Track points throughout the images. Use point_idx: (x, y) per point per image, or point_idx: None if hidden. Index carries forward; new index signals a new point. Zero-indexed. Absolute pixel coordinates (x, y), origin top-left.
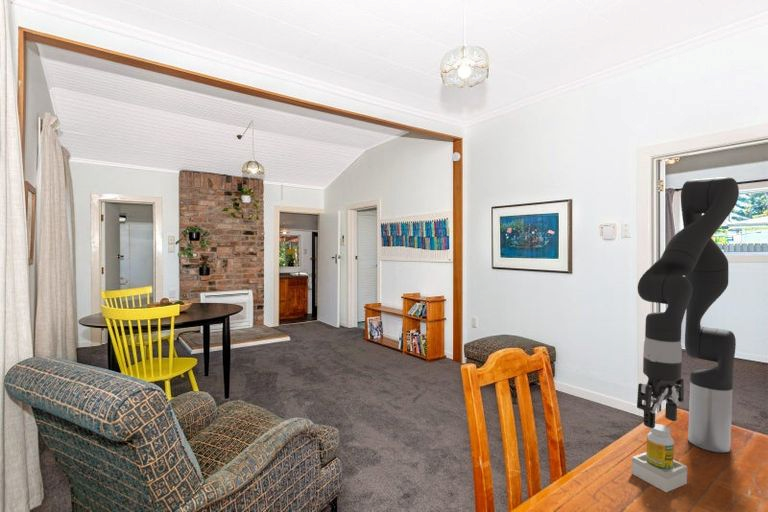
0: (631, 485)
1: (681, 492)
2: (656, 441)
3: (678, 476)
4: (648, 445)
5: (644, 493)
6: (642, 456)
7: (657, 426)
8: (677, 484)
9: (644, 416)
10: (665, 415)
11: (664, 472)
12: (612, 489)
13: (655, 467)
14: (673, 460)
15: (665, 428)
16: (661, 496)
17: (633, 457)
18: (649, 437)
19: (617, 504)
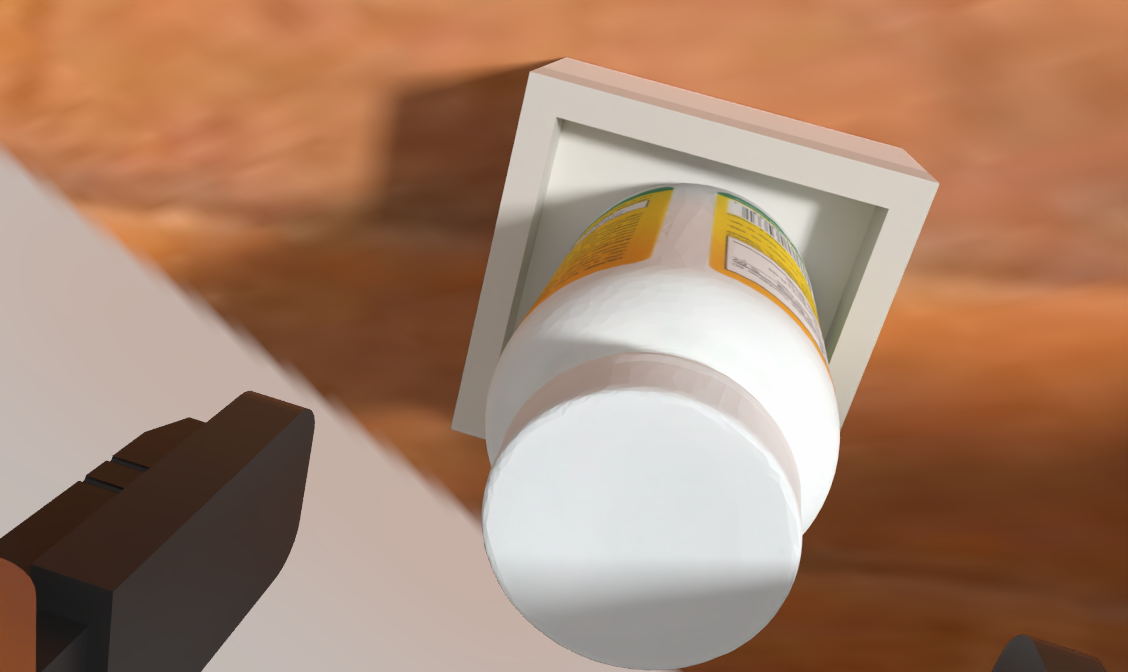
0: (358, 128)
1: None
2: (487, 431)
3: None
4: (553, 283)
5: (332, 243)
6: (666, 146)
7: (651, 491)
8: None
9: (52, 515)
10: (1037, 660)
11: (474, 404)
12: (155, 36)
13: (497, 323)
14: None
15: (664, 605)
16: (405, 346)
17: (530, 86)
18: (527, 334)
19: (9, 146)
